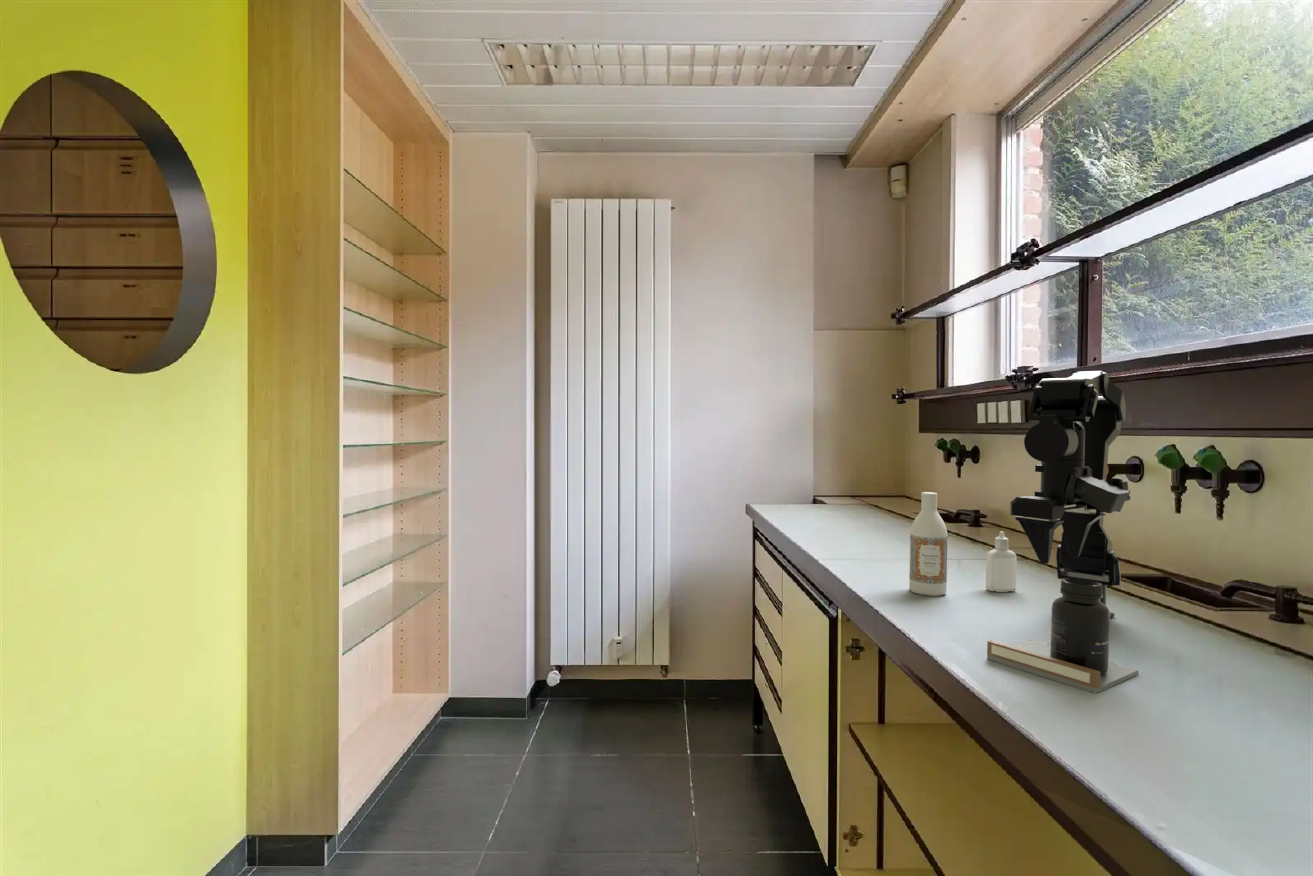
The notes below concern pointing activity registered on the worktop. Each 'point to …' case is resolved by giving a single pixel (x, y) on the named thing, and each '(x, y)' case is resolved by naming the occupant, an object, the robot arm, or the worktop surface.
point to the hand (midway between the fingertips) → (1059, 560)
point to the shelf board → (1056, 666)
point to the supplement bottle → (1081, 625)
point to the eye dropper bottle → (1001, 566)
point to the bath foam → (928, 550)
